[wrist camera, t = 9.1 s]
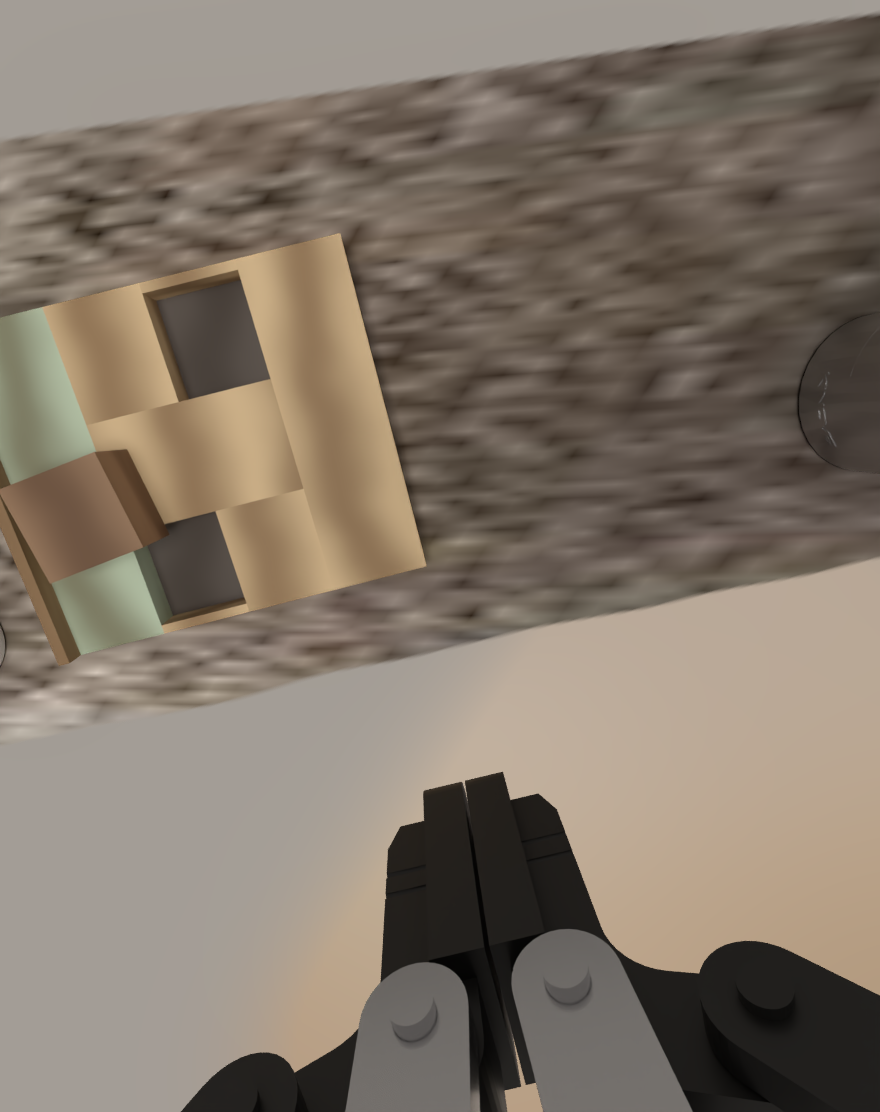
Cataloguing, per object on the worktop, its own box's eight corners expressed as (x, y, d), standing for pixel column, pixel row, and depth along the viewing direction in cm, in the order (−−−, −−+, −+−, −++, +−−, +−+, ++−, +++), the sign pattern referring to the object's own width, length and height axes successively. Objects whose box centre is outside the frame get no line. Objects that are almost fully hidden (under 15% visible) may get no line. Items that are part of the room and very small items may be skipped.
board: (343, 244, 32) (337, 225, 29) (425, 558, 36) (427, 571, 33) (-37, 339, 32) (-84, 329, 29) (88, 644, 36) (59, 665, 33)
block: (126, 449, 32) (94, 451, 28) (169, 534, 33) (143, 547, 29) (40, 483, 32) (-3, 489, 28) (86, 567, 33) (50, 583, 30)
